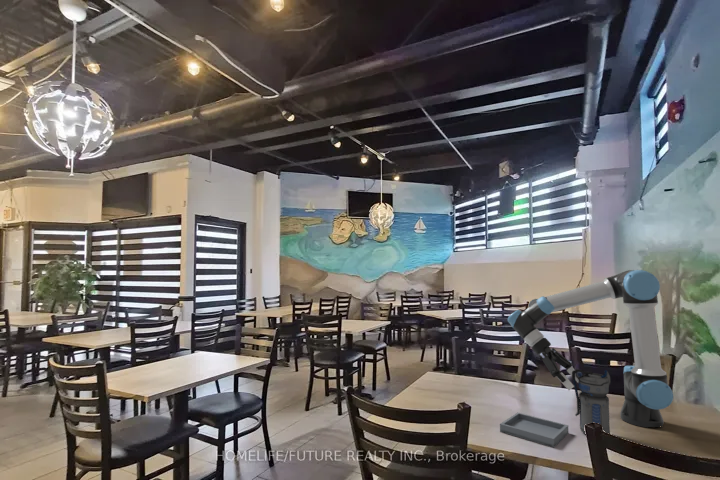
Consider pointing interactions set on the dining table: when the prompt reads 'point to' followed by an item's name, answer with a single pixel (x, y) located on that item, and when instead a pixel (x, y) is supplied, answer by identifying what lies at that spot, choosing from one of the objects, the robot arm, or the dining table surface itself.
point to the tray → (534, 429)
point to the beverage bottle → (592, 398)
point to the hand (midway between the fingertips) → (576, 385)
